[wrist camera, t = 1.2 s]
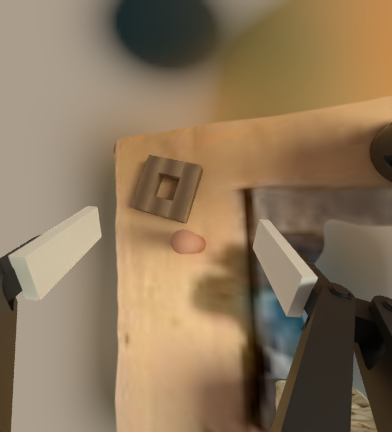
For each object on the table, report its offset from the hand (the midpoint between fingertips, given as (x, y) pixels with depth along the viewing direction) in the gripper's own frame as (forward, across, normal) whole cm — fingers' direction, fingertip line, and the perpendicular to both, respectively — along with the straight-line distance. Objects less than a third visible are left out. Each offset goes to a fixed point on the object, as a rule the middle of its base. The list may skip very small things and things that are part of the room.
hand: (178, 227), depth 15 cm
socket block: (+32, -5, -6) cm, 33 cm away
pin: (+23, +3, -16) cm, 28 cm away
